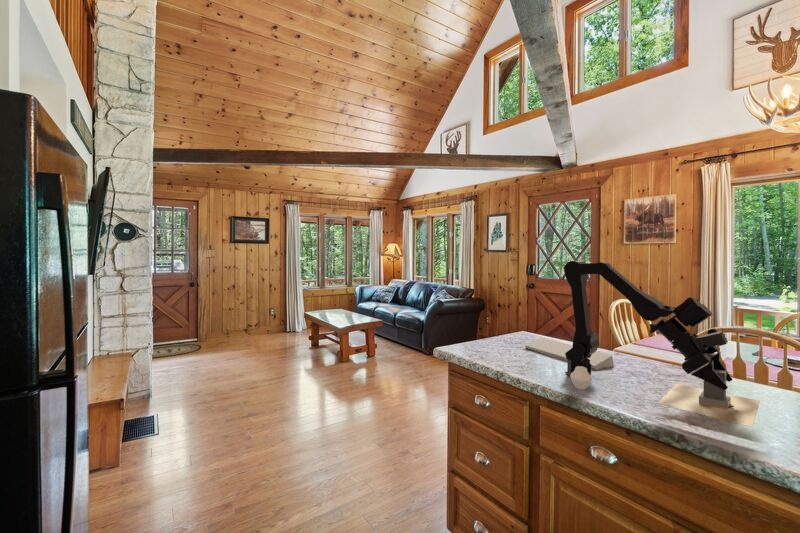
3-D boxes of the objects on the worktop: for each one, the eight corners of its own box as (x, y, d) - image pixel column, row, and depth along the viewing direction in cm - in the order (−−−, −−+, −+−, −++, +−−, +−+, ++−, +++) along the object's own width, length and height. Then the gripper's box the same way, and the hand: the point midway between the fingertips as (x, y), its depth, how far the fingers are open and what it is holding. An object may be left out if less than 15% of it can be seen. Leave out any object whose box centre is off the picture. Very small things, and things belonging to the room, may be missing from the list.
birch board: (654, 408, 103) (654, 403, 103) (674, 386, 120) (674, 382, 120) (754, 434, 89) (755, 428, 89) (762, 405, 105) (762, 400, 105)
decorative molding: (596, 378, 137) (614, 367, 141) (594, 366, 136) (612, 355, 141) (526, 355, 168) (542, 346, 172) (524, 345, 167) (540, 336, 171)
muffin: (569, 389, 117) (570, 367, 117) (569, 383, 123) (570, 362, 122) (592, 392, 115) (592, 369, 114) (591, 386, 120) (591, 364, 120)
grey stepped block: (698, 403, 103) (699, 370, 103) (702, 397, 107) (703, 365, 107) (727, 409, 99) (728, 375, 99) (730, 403, 103) (731, 370, 103)
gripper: (699, 324, 98) (755, 376, 90) (711, 315, 111) (761, 361, 103) (661, 348, 104) (712, 399, 96) (677, 338, 117) (722, 382, 109)
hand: (728, 384), depth 101 cm, fingers open, 9 cm apart
